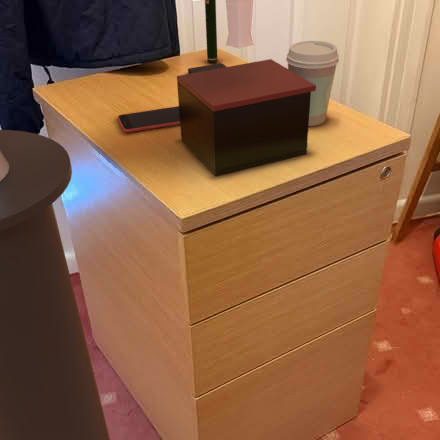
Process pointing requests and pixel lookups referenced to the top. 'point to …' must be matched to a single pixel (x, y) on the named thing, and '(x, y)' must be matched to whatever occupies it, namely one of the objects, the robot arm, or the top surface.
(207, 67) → the phone
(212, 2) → the flashlight
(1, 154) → the robot arm
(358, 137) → the top surface
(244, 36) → the white pentagonal vase
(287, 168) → the top surface
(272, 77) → the box lid
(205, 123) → the box
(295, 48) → the coffee cup
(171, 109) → the smartphone
